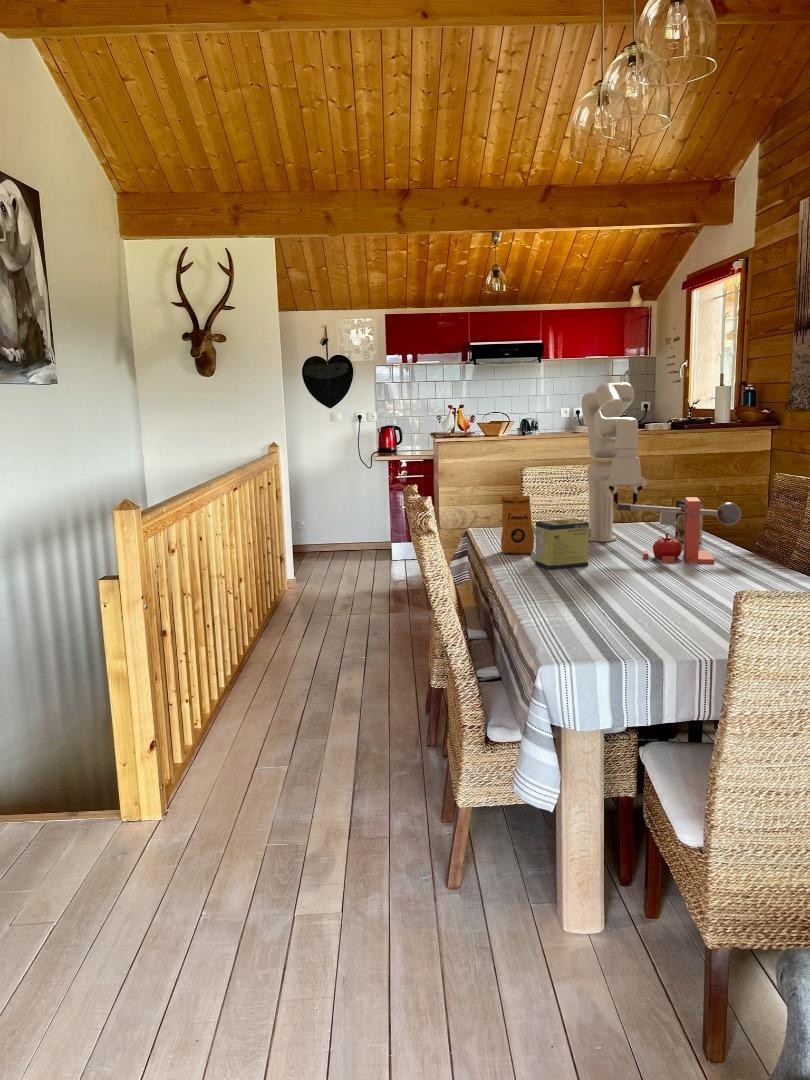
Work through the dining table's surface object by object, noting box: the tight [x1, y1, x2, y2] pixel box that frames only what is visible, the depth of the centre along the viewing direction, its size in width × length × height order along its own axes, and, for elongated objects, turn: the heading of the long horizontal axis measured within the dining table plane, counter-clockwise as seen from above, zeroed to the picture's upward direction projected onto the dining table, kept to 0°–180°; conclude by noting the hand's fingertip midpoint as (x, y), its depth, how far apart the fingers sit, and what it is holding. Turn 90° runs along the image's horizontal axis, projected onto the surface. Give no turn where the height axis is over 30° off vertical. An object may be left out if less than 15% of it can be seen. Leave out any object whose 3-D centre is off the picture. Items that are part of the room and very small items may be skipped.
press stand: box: [643, 496, 715, 565], centre depth 279 cm, size 23×16×21 cm
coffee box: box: [674, 499, 704, 543], centre depth 312 cm, size 9×6×16 cm
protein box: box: [535, 518, 589, 571], centre depth 274 cm, size 10×16×16 cm
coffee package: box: [500, 495, 535, 555], centre depth 298 cm, size 10×12×22 cm
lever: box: [616, 501, 742, 526], centre depth 278 cm, size 42×8×9 cm, turn 75°
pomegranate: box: [652, 532, 683, 560], centre depth 281 cm, size 10×10×9 cm
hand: (625, 503), depth 282 cm, fingers open, 5 cm apart
